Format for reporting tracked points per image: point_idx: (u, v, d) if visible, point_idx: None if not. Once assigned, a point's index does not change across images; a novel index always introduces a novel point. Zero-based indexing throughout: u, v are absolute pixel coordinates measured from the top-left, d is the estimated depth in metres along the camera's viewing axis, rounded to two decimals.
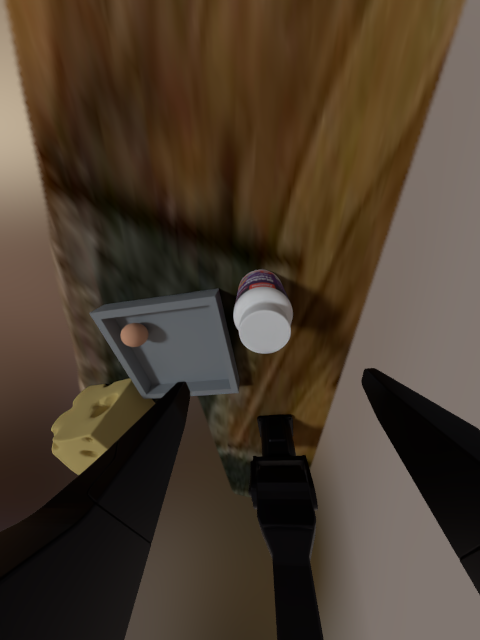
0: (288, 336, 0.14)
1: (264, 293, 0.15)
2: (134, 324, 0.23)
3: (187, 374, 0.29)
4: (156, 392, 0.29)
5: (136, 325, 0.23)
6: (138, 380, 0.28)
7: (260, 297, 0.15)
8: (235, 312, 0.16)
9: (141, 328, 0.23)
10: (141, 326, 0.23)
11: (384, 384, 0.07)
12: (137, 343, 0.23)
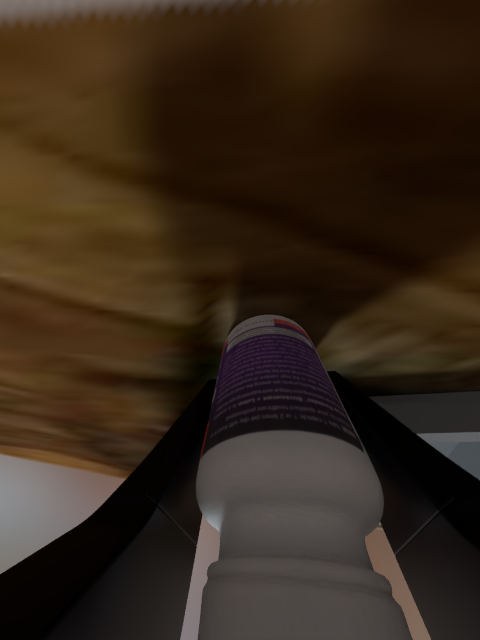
0: None
1: (201, 510, 0.05)
2: None
3: None
4: None
5: None
6: None
7: (210, 523, 0.05)
8: None
9: None
10: None
11: (339, 387, 0.07)
12: None
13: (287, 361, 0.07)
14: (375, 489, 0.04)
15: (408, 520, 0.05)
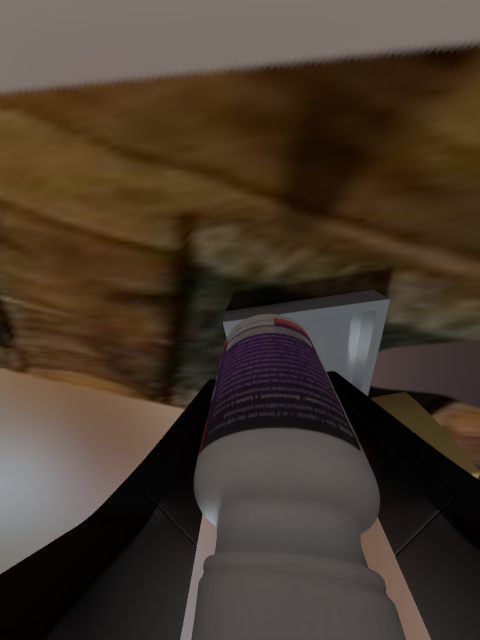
0: None
1: (198, 505, 0.05)
2: None
3: (342, 355, 0.23)
4: None
5: None
6: None
7: (208, 519, 0.05)
8: None
9: None
10: None
11: (339, 387, 0.07)
12: None
13: (286, 360, 0.07)
14: (371, 487, 0.04)
15: (408, 520, 0.05)
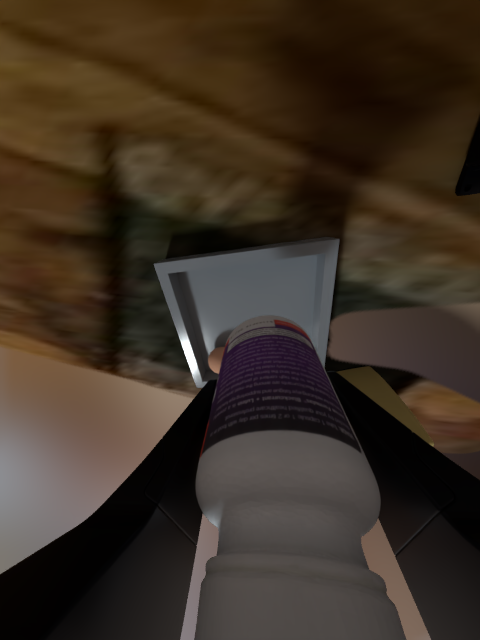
0: None
1: (200, 507, 0.05)
2: (209, 356, 0.22)
3: (297, 318, 0.20)
4: None
5: (209, 355, 0.21)
6: None
7: (209, 520, 0.05)
8: None
9: (212, 352, 0.21)
10: (212, 351, 0.22)
11: (339, 387, 0.07)
12: None
13: (287, 362, 0.07)
14: (371, 489, 0.04)
15: (408, 520, 0.05)
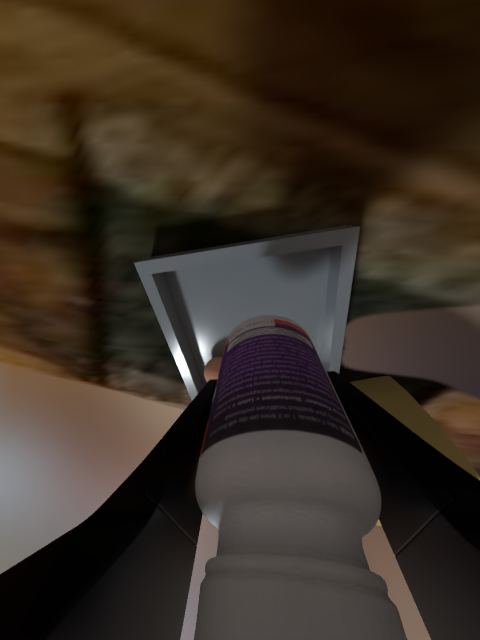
0: None
1: (200, 507, 0.05)
2: None
3: (306, 323, 0.17)
4: None
5: (205, 366, 0.19)
6: None
7: (209, 521, 0.05)
8: None
9: (208, 362, 0.18)
10: (208, 361, 0.19)
11: (339, 387, 0.07)
12: None
13: (287, 361, 0.07)
14: (372, 489, 0.04)
15: (408, 520, 0.05)
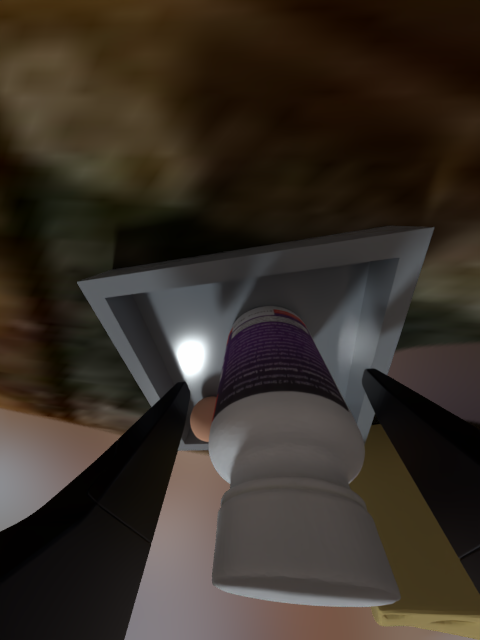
0: (329, 583, 0.03)
1: (213, 462, 0.06)
2: None
3: (327, 358, 0.13)
4: None
5: None
6: None
7: (221, 473, 0.06)
8: None
9: (196, 407, 0.14)
10: (196, 405, 0.14)
11: (384, 384, 0.07)
12: None
13: (285, 342, 0.08)
14: (356, 437, 0.05)
15: None
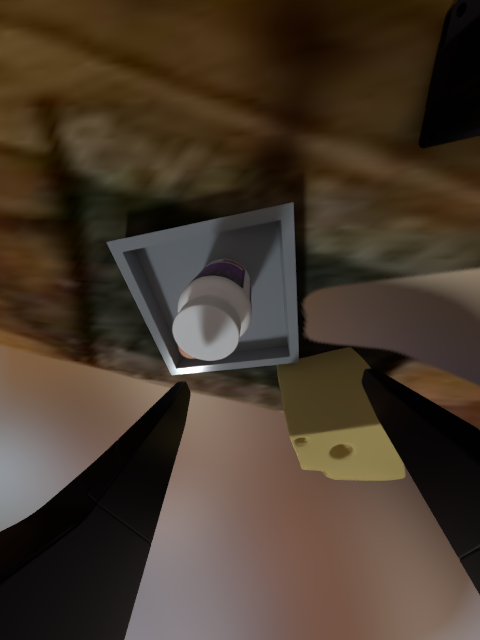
0: (204, 307, 0.10)
1: None
2: None
3: (267, 297, 0.19)
4: (288, 344, 0.20)
5: None
6: (263, 358, 0.21)
7: None
8: None
9: None
10: None
11: (384, 384, 0.07)
12: None
13: (220, 267, 0.14)
14: (239, 292, 0.12)
15: None
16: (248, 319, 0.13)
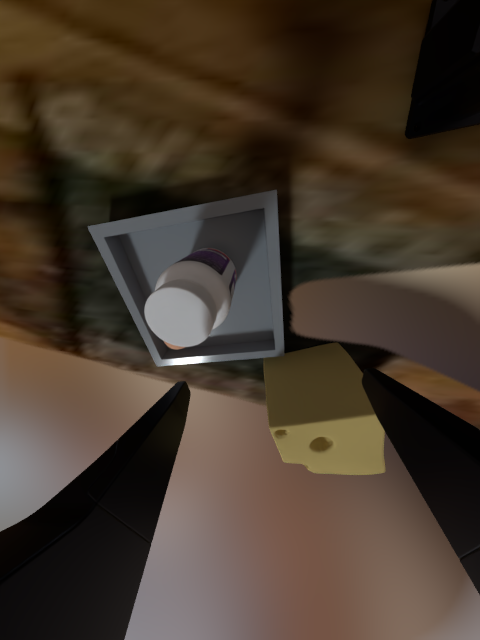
0: (175, 289, 0.09)
1: None
2: None
3: (253, 288, 0.19)
4: (274, 337, 0.20)
5: None
6: (248, 351, 0.21)
7: None
8: None
9: None
10: None
11: (384, 384, 0.07)
12: None
13: (202, 254, 0.14)
14: (216, 278, 0.12)
15: None
16: (226, 307, 0.12)
